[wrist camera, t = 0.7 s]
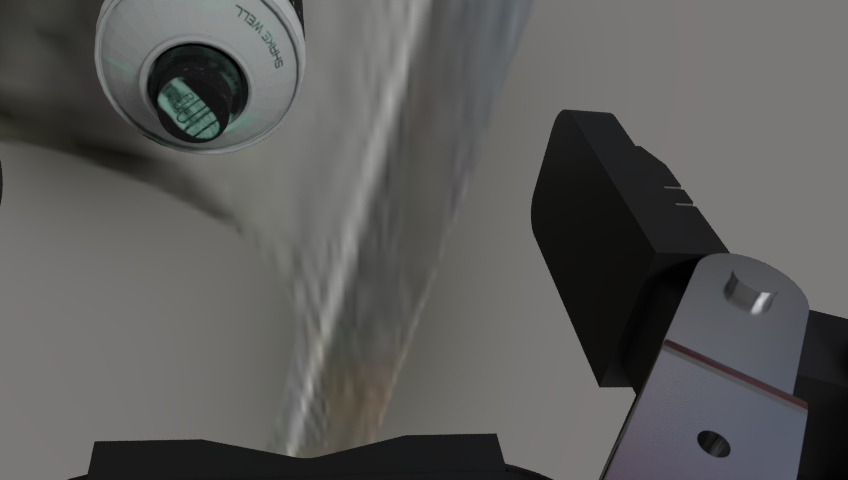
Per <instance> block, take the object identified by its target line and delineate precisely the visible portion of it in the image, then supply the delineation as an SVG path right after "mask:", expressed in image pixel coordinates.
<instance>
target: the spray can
mask: <svg viewBox="0 0 848 480" xmlns="http://www.w3.org/2000/svg"><path fill="white" fill-rule="evenodd" d="M94 59H95V65H96V71H97V76H98V79H99V81H100V84H101V87H102V89H103V92H104V94H105V95H106V97H107V99H108V100H109V102H110V103H111V105H112V106H113V108H114V109H115V111H116V112H117V113H118V114H119V115H120V116H121V117H122V118H123V119H124V120H125V121H126V122H127V123H128V124H129V125H130V126H131V127H133V128H134V129H135V130H137V131H138V132H139V133H141V134H142V135H143V136H145V137H147V138H149V139H151V140H153V141H155V142H156V143H158V144H160V145H163V146H166V147H169V148H172V149H175V150H178V151H182V152H188V153H194V154H224V153H230V152H236V151H239V150H242V149H245V148H247V147H250V146H253V145H255V144H257V143H258V142H260V141H262V140H264V139H265V138H267V137H269V136H270V135H271V134H272V133H273V132H274V131H276V130H277V129H278V128H279V127H280V126H281V125H282V124H283V123H284V121H285V120H286V119H287V117H288V116H289V115H290V114H291V112H292V110H293V108H294V106H295V104H296V102H297V99H298V97H299V93H300V89H301V85H302V81H303V76H304V72H305V68H306V47H305V33H304V19H303V6H302V0H104V2H103V5H102V7H101V11H100V14H99V17H98V20H97V24H96V38H95V51H94Z"/></svg>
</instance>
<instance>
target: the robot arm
mask: <svg viewBox="0 0 848 480" xmlns="http://www.w3.org/2000/svg"><path fill="white" fill-rule="evenodd" d="M2 186H3V181H2V168H1V162H0V204H1V198H2ZM531 224H532V230H533V233H534V236H535V238H536V241H537V243H538V246H539V248H540V250H541V253H542V255H543V257H544V260H545V262H546V264H547V266H548V269H549V271H550V273H551V276H552V278H553V280H554V283H555V285H556V287H557V290H558V292H559V294H560V297H561V299H562V301H563V304H564V306H565V308H566V311H567V313H568V315H569V317H570V320H571V322H572V324H573V327H574V329H575V332H576V334H577V336H578V338H579V341H580V343H581V345H582V348H583V350H584V353H585V355H586V357H587V359H588V362H589V364H590V366H591V369H592V371H593V373H594V376H595V378H596V380H597V383H598V385H599V387H632V388H633V390H634V392H635V394H636V397H635V399H634V402H633V403H632V405H631V408H630V410H629V412H628V414H627V416H626V419H625V421H624V423H623V426H622V428H621V430H620V432H619V435H618V437H617V439H616V441H615V444H614V446H613V448H612V450H611V453H610V455H609V457H608V459H607V462H606V464H605V466H604V469H603V471H602V473H601V475H600V478H599V480H848V319H845V318H841V317H837V316H833V315H829V314H825V313H821V312H817V311H813V310H809V304H808V301H807V298H806V296H805V295H804V293H803V292H802V290H801V289H800V288H799V287H798V286H797V285H796V284H795V282H793V281H792V280H791V279H790V278H789V277H788V276H786V275H785V274H783V273H782V272H780V271H779V270H777V269H775V268H774V267H772V266H770V265H768V264H766V263H763V262H761V261H759V260H756V259H753V258H750V257H747V256H743V255H738V254H731V253H730V252H729V251H728V249H727V248H726V247H725V245H724V244H723V243H722V241H721V240H720V238H719V237H718V236H717V234H716V233H715V232H714V230H713V229H712V228H711V226H710V225H709V223H708V222H707V221H706V219H705V218H704V217H703V215H702V214H701V213H700V211H699V210H698V208H697V207H694V206H693V201H692V200H691V199H690V197H689V196H688V195H687V193H686V192H685V190H681V185H680V184H679V182H678V181H677V180H676V178H675V177H674V175H673V174H672V173H671V171H670V170H669V169H668V168H667V166H666V165H665V164H664V163H663V162H661V161H660V160H658V159H657V158H656V157H654V156H653V155H652V154H650V153H649V152H648V151H646V150H645V149H644V148H642V147H641V146H635V145H634V143H633V142H632V140H631V139H630V137H629V136H628V135H627V133H626V132H625V130H624V129H623V127H622V126H621V124H620V123H619V122H618V120H617V119H616V117H615V116H614V115H613V114H611V113H605V112H592V111H578V110H562V111H561V112H560V113H559V114H558V116H557V118H556V120H555V122H554V125H553V128H552V131H551V135H550V138H549V142H548V145H547V149H546V152H545V156H544V159H543V163H542V166H541V170H540V173H539V176H538V180H537V183H536V187H535V190H534V194H533V198H532V206H531ZM68 480H553V479H551V478H548V477H546V476H543V475H541V474H539V473H536V472H533V471H530V470H527V469H523V468H520V467H517V466H513V465H509V464H505V462H504V459H503V455H502V452H501V448H500V445H499V441H498V437H497V434H455V435H454V434H452V435H406V436H401V437H398V438H393V439H389V440H385V441H381V442H377V443H373V444H369V445H365V446H361V447H357V448H353V449H349V450H345V451H340V452H336V453H332V454H328V455H324V456H320V457H315V458H296V457H291V456H286V455H280V454H275V453H270V452H265V451H260V450H254V449H249V448H243V447H239V446H233V445H228V444H223V443H218V442H212V441H207V440H202V439H200V440H148V441H97V442H94V447H93V452H92V457H91V461H90V466H89V471H88V474H87V475H83V476H79V477H75V478H71V479H68Z"/></svg>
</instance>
